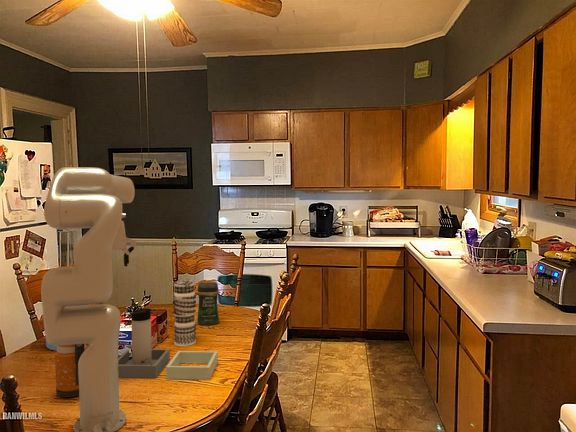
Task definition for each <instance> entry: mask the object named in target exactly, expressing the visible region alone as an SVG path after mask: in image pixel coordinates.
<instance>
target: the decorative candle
mask: <svg viewBox="0 0 576 432" xmlns="http://www.w3.org/2000/svg"><path fill="white" fill-rule="evenodd" d="M173 286H174V292H173V297H172V301H173V302H172V305H174V306H173V308H172V309H173V311H172V312H173V315H174V319H175V320H174V325H173V328H174V330H173V332H174V334H173V337H174V338H173V341H174V342H173V343H174V345H175V346H179V347H188V346H192V345H195V344H196V343H197V332H196V330H197V328H196V327H197V324H196V319H195V317H196V315H195V314H196V313H197V310H196V309H195V308H196V307H197V304H196V303H197V301H196V300H195V299H196V298H197V294H196V293H197V292H195V282H194V281H193V280H191V279H190V278H189V279H187V278H186V279H185V278H182V279H178V280H177V281H176V282H175V283H174V284H173Z"/></svg>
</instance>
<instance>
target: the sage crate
mask: <svg viewBox="0 0 576 432" xmlns="http://www.w3.org/2000/svg"><path fill="white" fill-rule="evenodd" d="M218 354H219V353H218V351H216V350H215V351H211V350H203V351H202V350H200V351H199V350H177V352H176V353H175V354H174V356H173V357H172V358H171V359H170V361H169V362H168V363H167V365H166V366H165V370H166V371H165V372H166V374H165V375H166V380H190V381H191V380H196V381H197V380H201V381H203V380H205V381H207V380H209V381H210V379H211V378H212V376H213V374H214V371H215V370H216V367H217V365H218V363H219V362H218V361H219V359H218V358H219V355H218ZM181 364H207V365H206V366H205V365H203V366H202V365H201V366H200V365H181Z"/></svg>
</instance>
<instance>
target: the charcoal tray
mask: <svg viewBox="0 0 576 432" xmlns="http://www.w3.org/2000/svg"><path fill="white" fill-rule="evenodd" d="M151 349H152V365H133V363H132V360H129V350H125V351H124V352H123V353H122V354H121V355H119V356H118V372H119V379H157V378H158V377H159V375H160V374H161V372H162V371H163V370H164V369H165V368H166V367H167V365H168V364H169V363H170V361H171V352H170V351H171V349H170V348H151Z"/></svg>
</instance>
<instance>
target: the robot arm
mask: <svg viewBox="0 0 576 432" xmlns="http://www.w3.org/2000/svg"><path fill="white" fill-rule="evenodd" d="M135 191H136V190H135V184H134V182H133V180H132V179H131V178H129V177H124V176H119V175H115V174H110V172H108V170H105V169H104V168H101V167H94V166H93V167H92V166H91V167H90V166H89V167H86V166H85V167H83V166H82V167H81V166H79V167H76V166H73V167H70V166H69V167H67V166H66V167H65V166H64V167H61V168H59V169H57V171H56V172H54V175H53V177H52V179H51V181H50V185H49V189H48V193H47V195H46V198H45V204H44V208H43V209H44V210H43V216H44V220H45V223H46V224H47V225H48V226H49V227H51V228H52V229H57V230H65V229H66V230H69V229H73V230H74V229H89V230H87V232H86V233H85V234H83V235H82V237H80V238H79V240H78V241H77V243H76V244H75V246H74V247H73V252H72V253H73V255H72V256H73V264H74V265H73V266H63V267H62V266H61V267H53V268H51V269H48V270H47V271H46V272H45V274H43V277H42V279H41V287H40V288H41V289H40V294H41V297H40V298H41V307H42V317H43V328H44V335H45V340H46V339H47V342H48V343H49V344H50V345H53V346H66V345H76V344H86V345H87V346H86V347H87V348H86V349H85V351H84V352H83V353H82V355H81V356H80V359H79V362H78V374H79V395H78V400H79V402H78V403H79V418H77V419H76V420H75V421H74V423H73V432H116V431H119V430H120V429H121V428H122V427H123V426H124V425H125V423H126V422H127V414H126V413H125V411H123V410H121V409H120V378H119V372H118V358H119V338H120V330H121V324H122V318H121V317H122V316H121V314H122V313H121V311H120V309H119V308H118V307H116V306H114V304H113V305H112V304H106V303H105V302H107V301H109V300H110V299H111V297H112V296H113V289H114V279H113V276H114V275H113V260H112V259H113V258H112V254H113V252H114V251H122V252H124V253H123V266H124V267H128V265H129V264H130V256H129V255H130V254H131V253H132V251H134V250H135V247H136V246H137V243H138V242H137V241H136V240H134V239H131V238H130V237H127V236H126V228H125V222H124V220H122V219H123V218H126V217H127V216H126V215H127V214H126V213H123V204H130V203H132V202H133V201H134V198H135ZM127 242H128V243H129V244H131V245H130V246H129V247H128V249H127ZM112 251H113V252H112ZM88 304H89V305H88ZM75 305H83V306H75ZM66 306H70V307H66Z"/></svg>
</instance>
